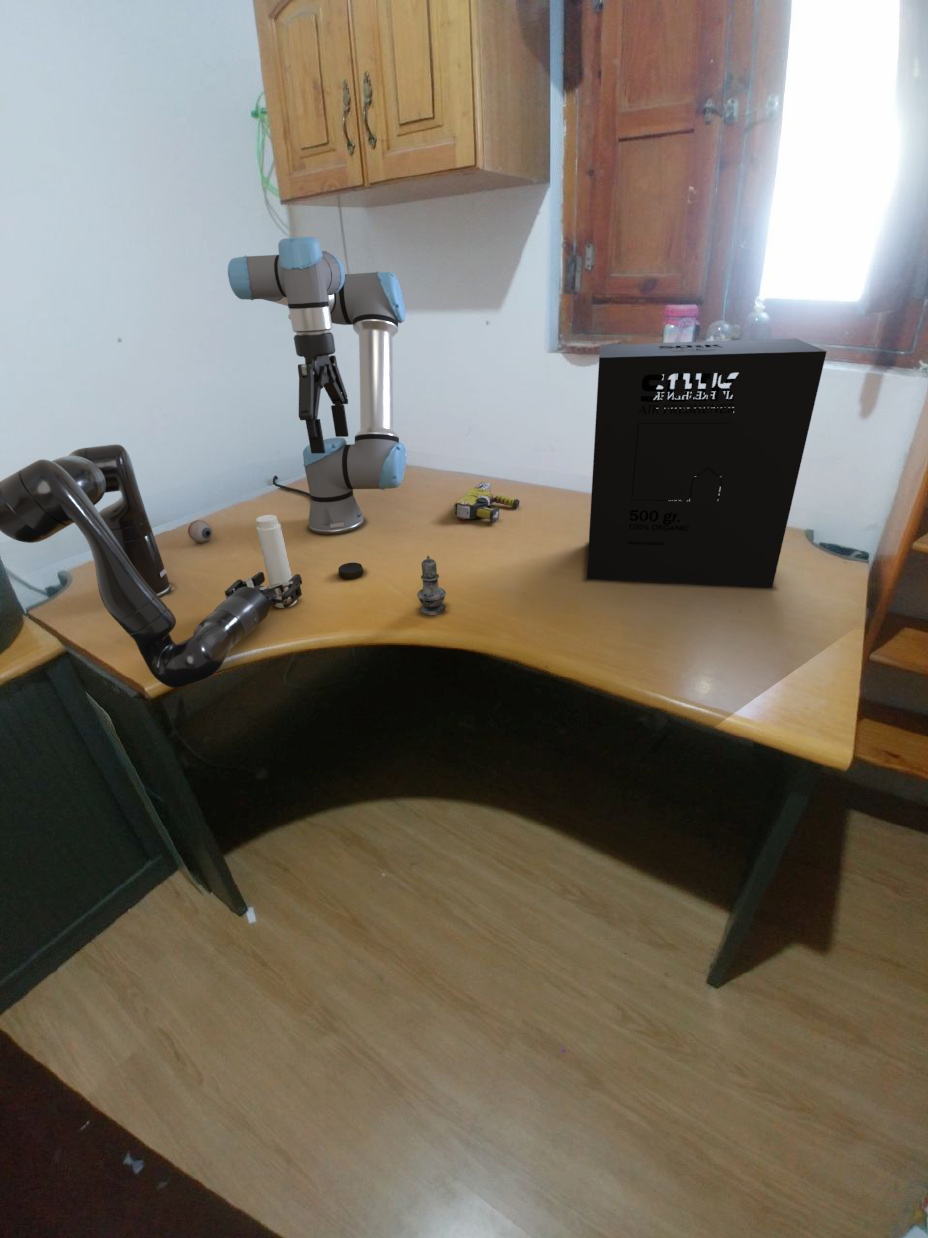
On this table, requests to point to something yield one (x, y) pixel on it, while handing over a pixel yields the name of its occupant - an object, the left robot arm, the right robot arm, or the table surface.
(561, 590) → the table surface
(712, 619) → the table surface
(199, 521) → the eyeball
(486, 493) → the toy gun
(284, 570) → the bottle
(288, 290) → the right robot arm
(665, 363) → the cardboard box
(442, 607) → the salt shaker
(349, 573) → the lid
